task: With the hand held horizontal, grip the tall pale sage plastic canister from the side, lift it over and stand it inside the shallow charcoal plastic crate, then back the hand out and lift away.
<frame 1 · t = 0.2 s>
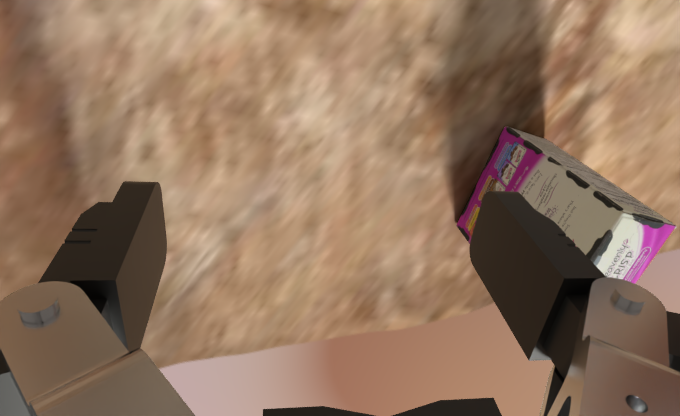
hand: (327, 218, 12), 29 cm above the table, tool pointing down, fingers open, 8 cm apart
candy bar box: (499, 181, 47), on the table
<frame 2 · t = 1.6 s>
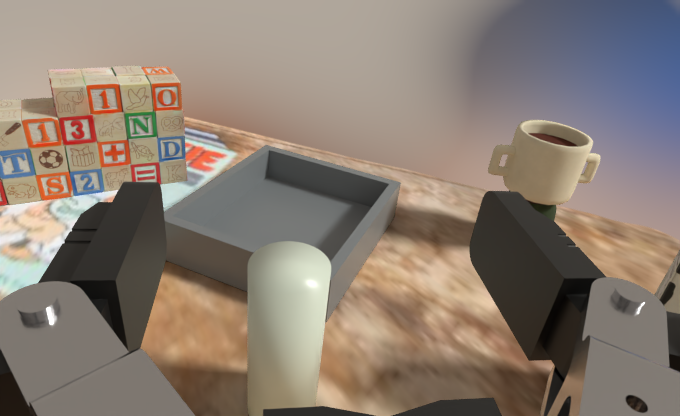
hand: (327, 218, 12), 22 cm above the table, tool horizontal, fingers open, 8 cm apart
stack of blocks: (87, 184, 55), on the table
character mug: (515, 243, 53), on the table
crate: (289, 235, 50), on the table
canister: (281, 404, 33), on the table
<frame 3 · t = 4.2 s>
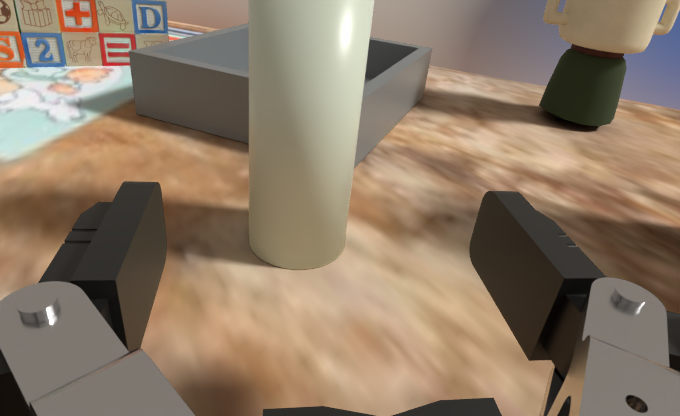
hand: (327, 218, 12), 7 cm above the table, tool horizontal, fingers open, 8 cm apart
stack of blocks: (49, 61, 45), on the table
character mug: (571, 122, 44), on the table
crate: (298, 104, 40), on the table
canister: (297, 240, 23), on the table
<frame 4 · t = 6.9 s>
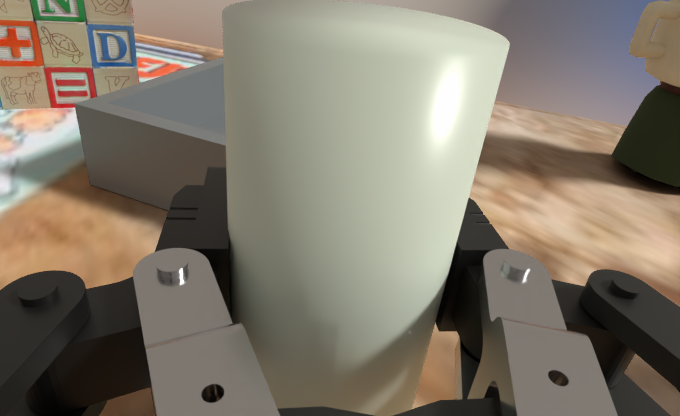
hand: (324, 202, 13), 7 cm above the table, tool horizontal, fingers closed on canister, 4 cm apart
character mug: (653, 177, 35), on the table
crate: (308, 159, 31), on the table
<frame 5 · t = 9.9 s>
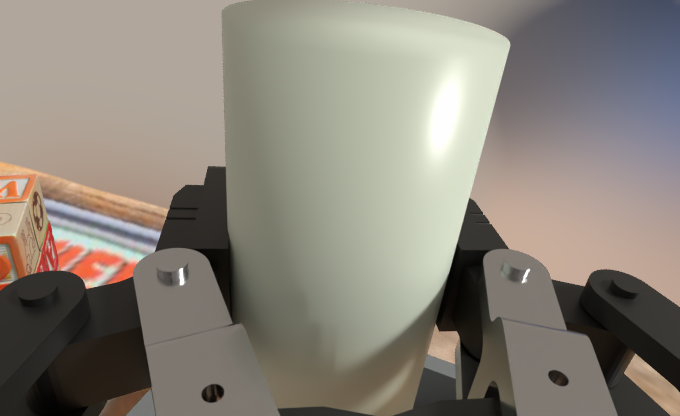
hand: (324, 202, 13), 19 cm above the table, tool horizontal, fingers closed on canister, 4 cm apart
when the fingers open (10 cm above the table, at t = 12.9 s): canister drops 2 cm, resting on crate.
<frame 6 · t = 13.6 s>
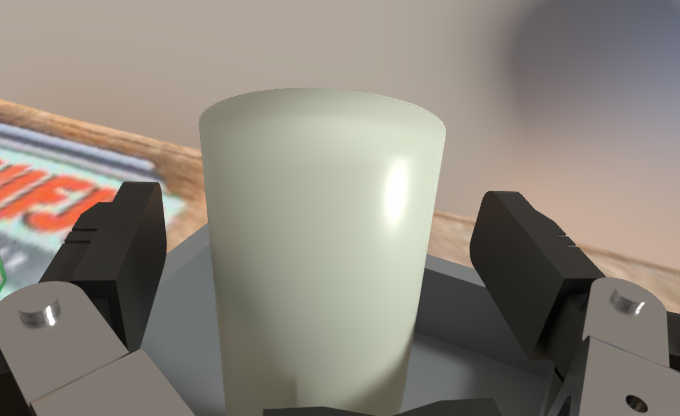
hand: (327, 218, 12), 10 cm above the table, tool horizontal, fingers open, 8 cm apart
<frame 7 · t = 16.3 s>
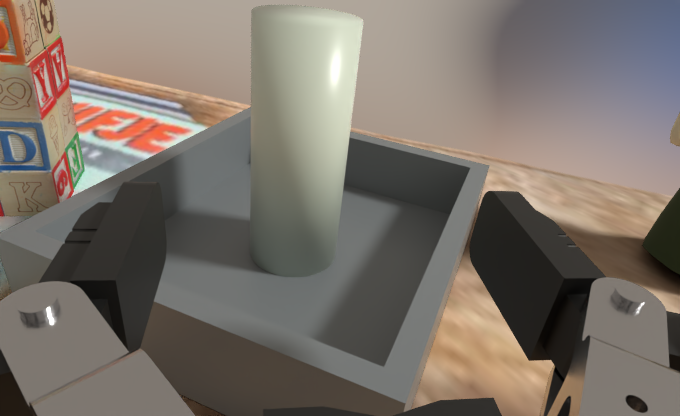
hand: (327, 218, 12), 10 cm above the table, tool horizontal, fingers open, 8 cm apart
crate: (291, 264, 26), on the table
canister: (293, 250, 26), point 1 cm above the table, touching crate
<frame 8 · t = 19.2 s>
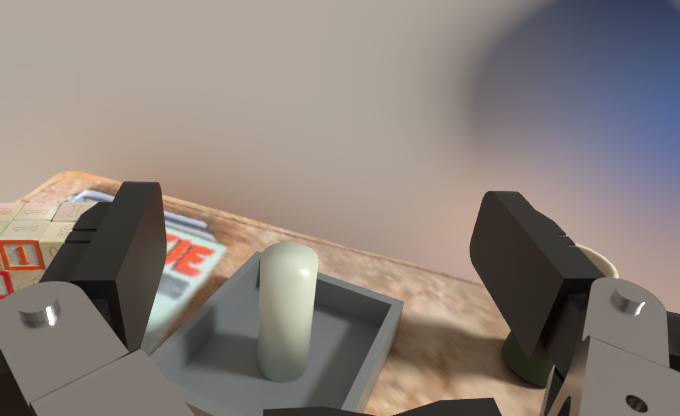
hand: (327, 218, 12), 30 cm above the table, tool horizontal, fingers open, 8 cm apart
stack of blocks: (26, 327, 47), on the table
character mug: (530, 366, 49), on the table
crate: (282, 368, 45), on the table
canister: (282, 362, 44), point 1 cm above the table, touching crate
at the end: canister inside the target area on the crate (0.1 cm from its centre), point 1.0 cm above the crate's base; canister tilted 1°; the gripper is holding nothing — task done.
